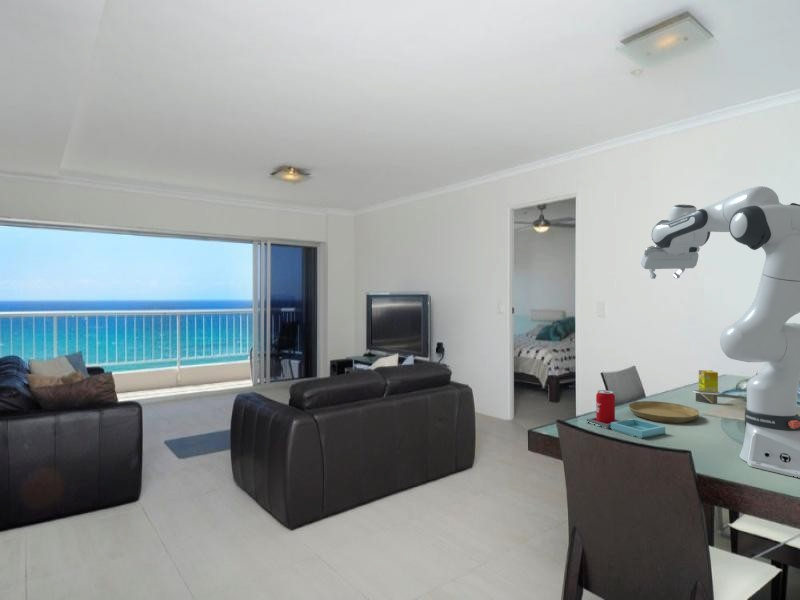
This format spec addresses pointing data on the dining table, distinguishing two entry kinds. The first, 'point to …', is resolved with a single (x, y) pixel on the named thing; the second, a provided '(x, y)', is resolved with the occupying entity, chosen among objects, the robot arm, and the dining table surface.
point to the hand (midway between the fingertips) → (664, 277)
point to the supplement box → (708, 380)
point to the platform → (706, 395)
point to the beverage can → (605, 406)
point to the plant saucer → (663, 411)
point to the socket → (600, 422)
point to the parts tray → (638, 428)
